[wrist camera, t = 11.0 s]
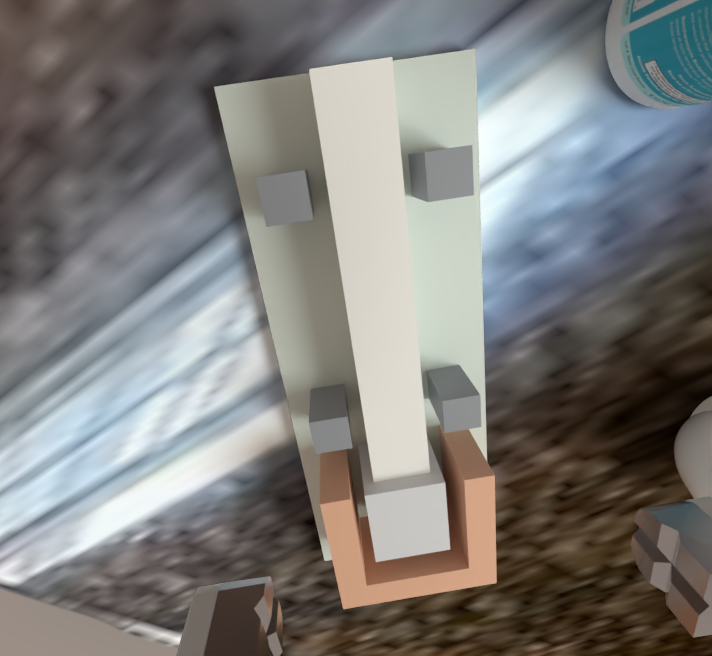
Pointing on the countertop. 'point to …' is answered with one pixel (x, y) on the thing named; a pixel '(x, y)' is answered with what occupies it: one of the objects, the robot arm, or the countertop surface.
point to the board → (330, 322)
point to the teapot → (696, 451)
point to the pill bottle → (661, 51)
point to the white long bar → (380, 304)
